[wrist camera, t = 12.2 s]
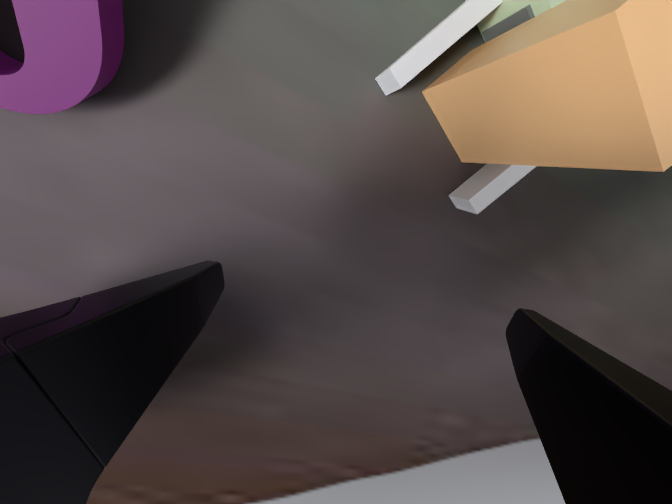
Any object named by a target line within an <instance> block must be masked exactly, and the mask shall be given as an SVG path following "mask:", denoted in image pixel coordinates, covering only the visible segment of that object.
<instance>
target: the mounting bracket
mask: <svg viewBox="0 0 672 504" xmlns="http://www.w3.org/2000/svg"><path fill="white" fill-rule="evenodd" d="M12 3H13V7H14V11H15V15H16V19H17V23H18V27H19V31H20V35H21V39H22V43H23V47H24V52H25V60H24V63H23V62H20V61H18V60H16V59H14V58H12V57H10V56H8V55H7V54H5V53H4V52H2V51H1V50H0V108H3V109H7V110H11V111H16V112H21V113H30V114H47V113H55V112H59V111H63V110H66V109H68V108H71V107H73V106H75V105H76V104H78V103H80V102H82V101H84V100H85V99H87V98H89V97H91V96H92V95H94V94H96V93H98V92H99V91H101V90H102V89H103V88H105V87H106V86H107V85H108V84H109V83H110V82H111V80H112V79H113V78H114V76H115V74H116V73H117V71H118V68H119V66H120V63H121V60H122V55H123V50H124V21H123V6H122V0H12Z"/></svg>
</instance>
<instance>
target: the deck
mask: <svg viewBox="0 0 672 504" xmlns="http://www.w3.org/2000/svg"><path fill="white" fill-rule="evenodd" d="M564 1H566V0H465V2H464V3H463V4H462V5H460V6H459V7H458V8H457V9H456V10H455V11H453V12H452V13H451V14H450V15H449V16H448V17H446V18H445V19H444V20H443V21H442V22H441V23H439V24H438V25H437V26H436V27H435V28H433V29H432V30H431V31H430V32H429V33H428V34H426V35H425V36H424V37H423V38H422V39H421V40H419V41H418V42H417V43H416V44H415V45H414V46H412V47H411V48H410V49H409V50H408V51H407V52H405V53H404V54H403V55H402V56H401V57H400V58H398V59H397V60H396V61H395V62H394V63H393V64H391V65H390V66H389V67H388V68H387V69H386V70H384V71H383V72H382V73H381V74H380V75H378V76H377V77H376V78H375V79H376V81H377V82H378V84H379V86H380V87H381V89H382V90H383V92H384V94H385V95H386V96H387V95H389V94H391V93H392V92H394V91H396V90H398V89H400V88H402V87H403V86H404V85H405V84H407V83H408V82H409V81H410V80H411V79H412V78H414V77H415V76H416V75H417V74H418V73H420V72H421V71H422V70H423V69H424V68H425V67H427V66H428V65H429V64H430V63H431V62H432V61H434V60H435V59H436V58H437V57H438V56H440V55H441V54H442V53H443V52H444V51H445V50H447V49H448V48H449V47H450V46H451V45H453V44H454V43H455V42H456V41H457V40H458V39H460V38H461V37H462V36H463V35H464V34H465V33H467V32H468V31H469V30H470V29H471V28H473V27H474V26H475V25H476V24H477V26H478V29H479V31H480V33H481V35H482V37H483V39H484V41H485V43H486V42H488V41H490V40H492V39H494V38H496V37H498V36H499V35H501V34H503V33H505V32H507V31H509V30H511V29H513V28H515V27H517V26H519V25H520V24H522V23H524V22H526V21H528V20H530V19H532V18H534V17H536V16H538V15H540V14H542V13H543V12H545V11H547V10H549V9H551V8H553V7H555V6H557V5H559V4H561V3H563V2H564ZM535 167H536V166H528V165H507V164H486V165H485V166H483V167H482V168H481V169H480V170H479V171H477V172H476V173H475V174H474V175H472V176H471V177H470V178H469V179H468V180H466V181H465V182H464V183H463V184H461V185H460V186H459V187H458V188H457V189H455V190H454V191H453V192H452V193H450V194H449V195H448V196H449V197H450V199H451V201H452V202H453V204H454V205H455V207H456V208H457V209H461V210H464V211H467V212H471V213H474V214H478V213H480V212H481V211H482V210H483V209H485V208H486V207H487V206H488V205H490V204H491V203H492V202H493V201H494V200H496V199H497V198H498V197H499V196H501V195H502V194H503V193H504V192H506V191H507V190H508V189H509V188H511V187H512V186H513V185H514V184H515V183H517V182H518V181H519V180H520V179H522V178H523V177H524V176H525V175H527V174H528V173H529V172H530V171H531V170H533V169H534V168H535Z"/></svg>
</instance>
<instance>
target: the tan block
mask: <svg viewBox="0 0 672 504" xmlns="http://www.w3.org/2000/svg"><path fill="white" fill-rule="evenodd" d="M422 93H423V95H424V97H425V99H426V100H427V102H428V104H429V106H430V107H431V109H432V111H433V113H434V114H435V116H436V118H437V120H438V121H439V123H440V125H441V127H442V128H443V130H444V132H445V134H446V135H447V137H448V139H449V141H450V142H451V144H452V146H453V148H454V149H455V151H456V153H457V155H458V156H459V158H460V160H461V162H465V163H486V164H507V165H528V166H549V167H570V168H592V169H613V170H634V171H655V172H664V171H665V170H667V169H668V168H669V167H670V166H672V0H566V1H564V2H563V3H561V4H559V5H557V6H555V7H553V8H551V9H549V10H547V11H545V12H543V13H542V14H540V15H538V16H536V17H534V18H532V19H530V20H528V21H526V22H524V23H522V24H520V25H519V26H517V27H515V28H513V29H511V30H509V31H507V32H505V33H503V34H501V35H499V36H498V37H496V38H494V39H492V40H490V41H488V42H486V43H484V44H482V45H480V46H478V47H476V48H475V49H473V50H471V51H470V52H469V53H467V54H466V55H465V56H464V57H463V58H461V59H460V60H459V61H458V62H457V63H455V64H454V65H453V66H452V67H451V68H449V69H448V70H447V71H446V72H445V73H443V74H442V75H441V76H440V77H439V78H437V79H436V80H435V81H434V82H433V83H431V84H430V85H429V86H428V87H427V88H425V89H424V90H423V91H422Z"/></svg>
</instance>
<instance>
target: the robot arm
mask: <svg viewBox="0 0 672 504" xmlns="http://www.w3.org/2000/svg"><path fill="white" fill-rule="evenodd" d="M223 289H224V277H223V271H222V266H221V264H220V263H219V262H214V261H205V262H201V263H198V264H194V265H191V266H187V267H184V268H180V269H177V270H173V271H170V272H166V273H163V274H159V275H156V276H152V277H148V278H145V279H141V280H138V281H134V282H131V283H127V284H124V285H120V286H117V287H113V288H110V289H106V290H103V291H99V292H96V293H92V294H89V295H85V296H83V297H82V298H81V297H77V298H73V299H70V300H66V301H62V302H59V303H55V304H51V305H48V306H44V307H40V308H37V309H33V310H29V311H25V312H21V313H17V314H13V315H9V316H5V317H1V318H0V504H86V502H87V500H88V497H89V495H90V493H91V490H92V488H93V487H94V485H95V483H96V481H97V479H98V478H99V476H100V475H101V473H102V472H103V470H104V467H106V466H107V464H108V463H109V462H110V460H111V459H112V457H113V456H114V454H115V453H116V452H117V450H118V449H119V447H120V446H121V444H122V443H123V442H124V440H125V439H126V437H127V436H128V434H129V433H130V431H131V430H132V429H133V427H134V426H135V424H136V423H137V421H138V420H139V419H140V417H141V416H142V414H143V413H144V411H145V410H146V409H147V407H148V406H149V404H150V403H151V401H152V400H153V399H154V397H155V396H156V394H157V393H158V391H159V390H160V389H161V387H162V386H163V384H164V383H165V381H166V380H167V379H168V377H169V376H170V374H171V373H172V371H173V370H174V369H175V367H176V366H177V364H178V363H179V361H180V360H181V359H182V357H183V356H184V354H185V353H186V351H187V350H188V349H189V347H190V346H191V344H192V343H193V341H194V340H195V339H196V337H197V336H198V334H199V333H200V331H201V330H202V328H203V327H204V325H205V323H206V322H207V320H208V318H209V316H210V314H211V313H212V311H213V309H214V307H215V305H216V303H217V301H218V299H219V297H220V296H221V294H222V292H223ZM506 339H507V343H508V347H509V350H510V354H511V358H512V362H513V366H514V370H515V373H516V377H517V380H518V383H519V385H520V388H521V391H522V393H523V396H524V398H525V401H526V403H527V406H528V409H529V411H530V414H531V416H532V419H533V421H534V424H535V426H536V429H537V432H538V434H539V437H540V439H541V442H542V444H543V447H544V450H545V452H546V455H547V457H548V460H549V462H550V465H551V467H552V470H553V473H554V475H555V478H556V480H557V483H558V485H559V488H560V490H561V493H562V496H563V498H564V500H565V503H566V504H672V391H671V390H669V389H667V388H666V387H664V386H662V385H661V384H659V383H657V382H655V381H654V380H652V379H650V378H649V377H647V376H645V375H643V374H642V373H640V372H638V371H637V370H635V369H633V368H631V367H630V366H628V365H626V364H625V363H623V362H621V361H619V360H618V359H616V358H614V357H613V356H611V355H609V354H607V353H606V352H604V351H602V350H601V349H599V348H597V347H595V346H594V345H592V344H590V343H589V342H587V341H585V340H583V339H582V338H580V337H578V336H577V335H575V334H573V333H571V332H570V331H568V330H566V329H565V328H563V327H561V326H559V325H558V324H556V323H554V322H553V321H551V320H549V319H547V318H546V317H544V316H542V315H541V314H539V313H537V312H535V311H533V310H528V309H522V308H520V309H517V310H516V312H515V313H514V315H513V317H512V319H511V321H510V322H509V324H508V326H507V328H506Z"/></svg>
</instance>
